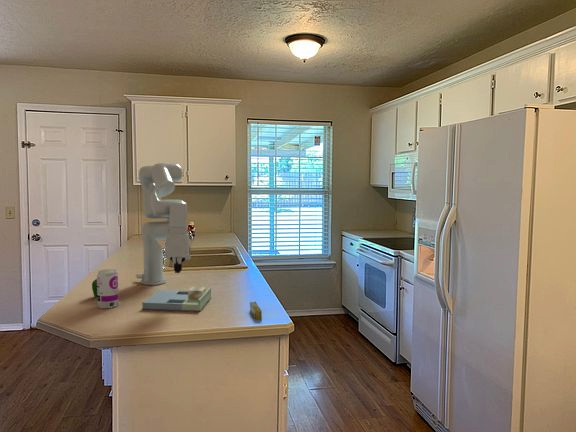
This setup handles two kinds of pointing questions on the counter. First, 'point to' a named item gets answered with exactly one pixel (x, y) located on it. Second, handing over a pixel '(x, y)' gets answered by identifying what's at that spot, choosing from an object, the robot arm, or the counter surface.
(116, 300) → the supplement can
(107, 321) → the counter surface
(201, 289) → the maple block
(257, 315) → the medication box
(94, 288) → the bell pepper
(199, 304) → the slate trap deck
